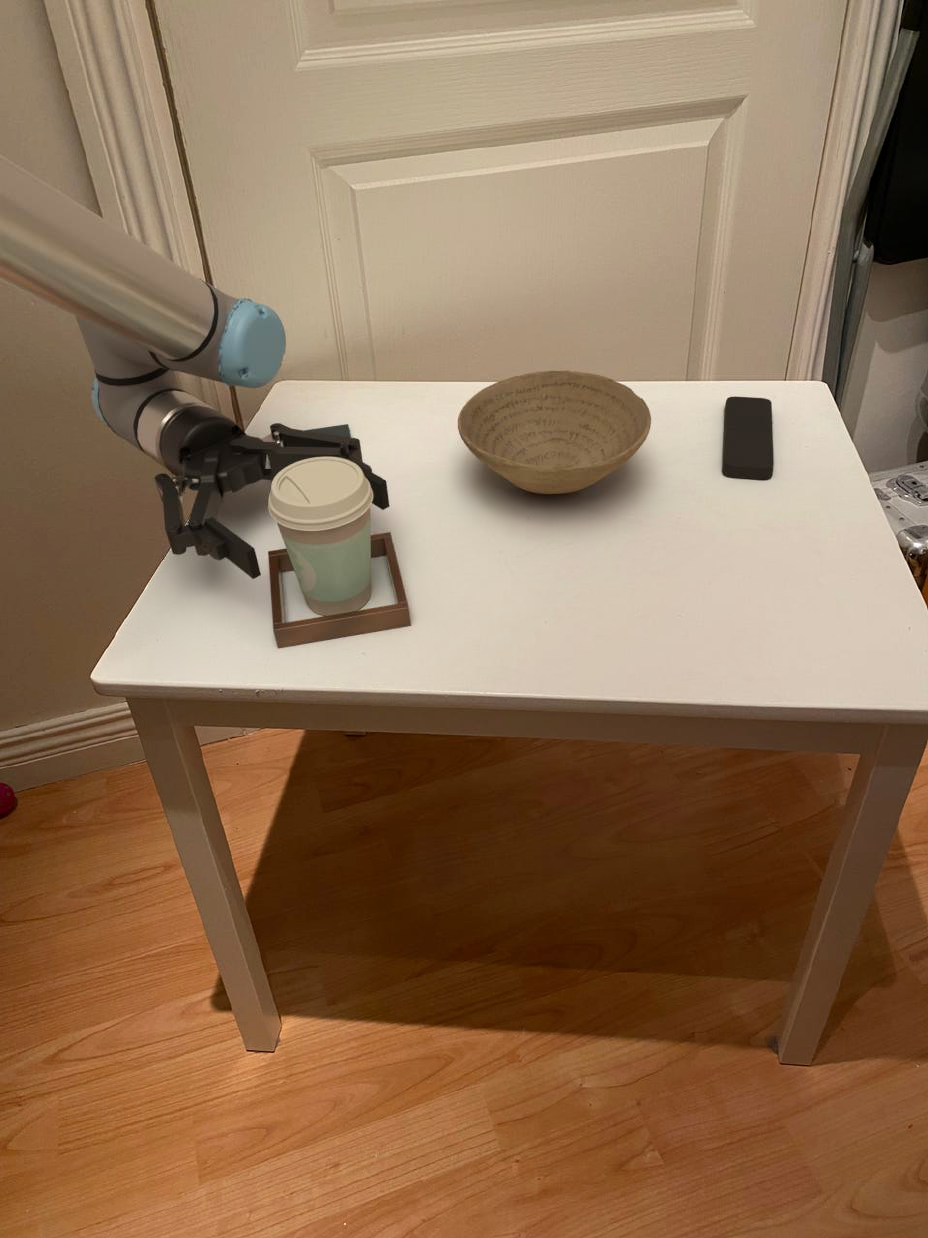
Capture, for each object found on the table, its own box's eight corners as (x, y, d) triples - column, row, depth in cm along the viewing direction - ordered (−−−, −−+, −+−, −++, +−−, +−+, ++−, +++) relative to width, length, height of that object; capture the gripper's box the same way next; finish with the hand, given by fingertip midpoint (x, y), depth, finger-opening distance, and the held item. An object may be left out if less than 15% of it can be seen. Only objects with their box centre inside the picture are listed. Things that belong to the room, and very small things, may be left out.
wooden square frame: (277, 648, 78) (273, 630, 77) (272, 568, 86) (267, 551, 85) (411, 625, 79) (408, 607, 78) (392, 548, 88) (390, 531, 86)
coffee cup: (299, 567, 86) (275, 453, 79) (391, 565, 86) (376, 451, 78) (282, 628, 80) (253, 511, 72) (381, 626, 79) (363, 509, 72)
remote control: (771, 485, 93) (770, 407, 104) (774, 470, 92) (772, 393, 103) (720, 481, 94) (724, 405, 105) (723, 466, 93) (726, 390, 104)
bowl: (455, 536, 89) (449, 463, 83) (466, 438, 103) (462, 370, 97) (652, 535, 87) (659, 461, 82) (637, 435, 101) (642, 366, 96)
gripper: (305, 428, 100) (436, 504, 87) (87, 527, 88) (203, 632, 75) (293, 362, 95) (429, 433, 83) (60, 458, 83) (180, 557, 70)
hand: (322, 528), depth 79 cm, fingers open, 13 cm apart
